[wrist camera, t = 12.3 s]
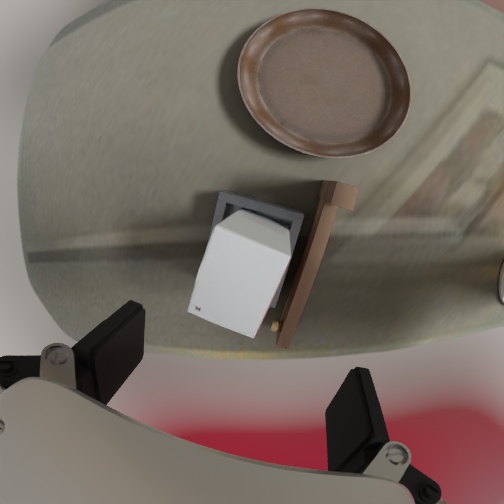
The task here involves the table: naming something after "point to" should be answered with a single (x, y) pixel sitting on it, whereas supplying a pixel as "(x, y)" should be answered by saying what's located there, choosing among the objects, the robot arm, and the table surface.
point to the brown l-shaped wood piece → (312, 256)
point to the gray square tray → (280, 213)
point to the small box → (241, 271)
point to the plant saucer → (324, 83)
